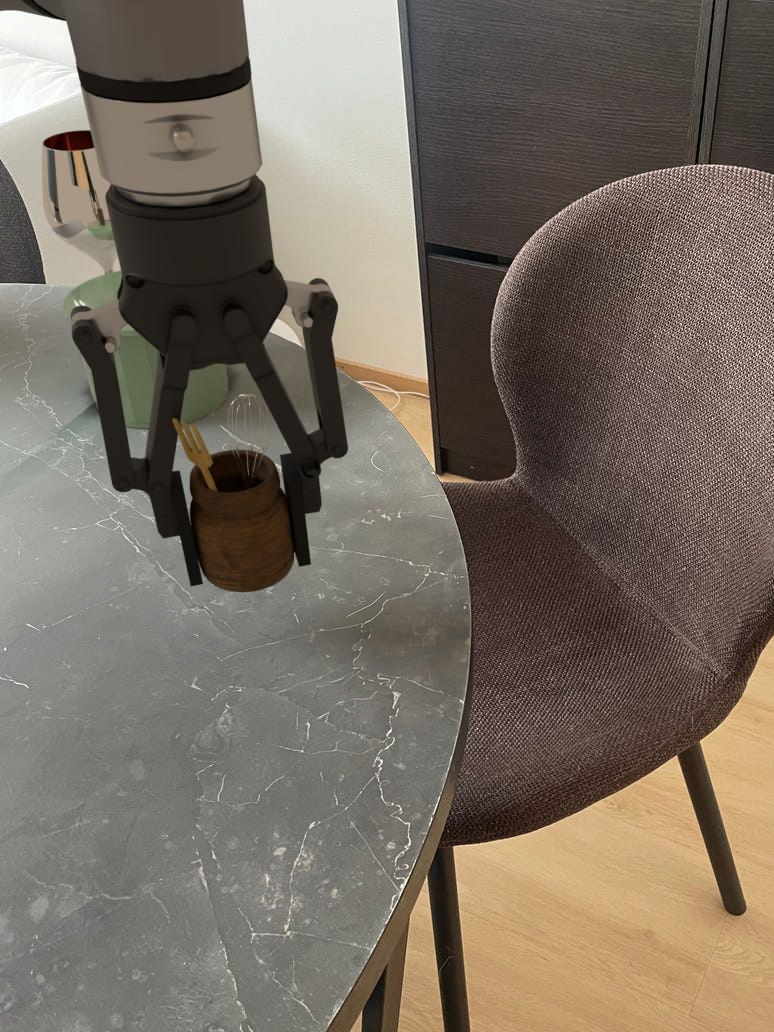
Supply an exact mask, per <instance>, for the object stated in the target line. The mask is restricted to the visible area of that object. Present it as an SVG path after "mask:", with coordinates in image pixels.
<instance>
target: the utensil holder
mask: <svg viewBox="0 0 774 1032" xmlns="http://www.w3.org/2000/svg"><path fill="white" fill-rule="evenodd" d="M241 398H242V399H241ZM250 398H251V399H253V400H254V401H256V403H257V404H258V408H259V409H258V410H259V411H262V416H263V427H264V429H263V430H264V433H266V417H265V411H264V409H263V408H262V406H261V403H260V401H261V402H262V403H263V405H264V407H265V409H266V414H267V415H266V416H267V417H269V409H268V406H267V404H266V402H265V401H264V400H262V399H261V398H260V397H258V396H256V394H252V393H250V394H248V393H246V394H243V395H242V394H239V395H237V396H236V397H235V398H234V400H233V401H232V402H231V404H230V405H229V408H228V411H227V412H228V413H227V438H228V442H229V445H230V449H228V450H222V451H217V452H215V453H212V454H210V452H209V451H208V448H207V445H206V444H205V442H204V440H203V437H202V435H201V433H200V431H199V429H198V427H197V425H196V424H195V423H191V424H190V427H189V424H188V423H186V422H185V421H182V422H181V423H182V425H180V424H179V422H178V420H177V419H176V418H173V419H172V421H173V424H174V426H175V428H176V431H177V433H178V438H179V441H180V443H181V446H182V447H183V450H184V452H185V455H186V457H187V459H188V460H189V461H190V462H191V463H193V464H194V466H193V468H192V469H191V471H190V473H189V493H190V496H191V500H190V505H189V518H190V523H191V528H192V532H193V537H194V542H195V547H196V552H197V557H198V561H199V566H200V571H201V573H202V574H203V576H204V577H205V579H206V580H207V581H208V582H209V583H211V585H213V586H215V587H217V588H218V589H221V590H224V591H228V592H233V593H253V592H258V591H262V590H265V589H268V588H270V587H273V586H275V585H277V584H279V582H281V581H282V580H284V579H285V578H286V577H287V576H288V574H289V573H290V572H291V570H292V568H293V566H294V562H295V552H294V540H293V532H292V524H291V516H290V510H289V505H288V501H287V498H286V495H285V491H284V489H282V487H281V478H280V477H281V476H280V473H279V471H278V468H277V466H276V464H275V462H274V461H273V459H272V458H270V457H268V456H267V455H265V452H266V450H267V446H268V443H269V442H268V441H269V434H270V423H269V422H270V421H269V419H267V438H266V437H264V439H263V447H262V452H259V447H260V441H261V434H259V435H258V436H259V437H258V444H257V448H256V451H255V450H253V422H252V417H250V439H251V440H250V449H248V442H247V441H248V440H247V439H245V449H239V448H238V434H237V432H238V431H237V429H238V428H237V424H238V423H237V420H238V413H239V412H238V411H239V409H240V406H241V403H242V402H243V401H244V429H245V430H244V432H245V433H244V434H245V435H244V436H247V412H246V411H247V409H246V405H247V403H246V402H247V399H248V405H249V413H250V415H252V406H251V400H250ZM238 399H241V400H240V402H239V404H238V407H237V409H236V413H235V436H234V427H233V425H234V424H233V420H234V419H233V417H234V414H233V411H234V404H235V401H237V400H238ZM259 400H260V401H259ZM230 410H231V433H232V438H233V443H234V447H235V449H233V446H232V444H231V440H230V428H229V425H230V422H229V420H230ZM190 428H191V429H190ZM191 430H192V431H191ZM261 430H262V423H261V415H259V433H261Z"/></svg>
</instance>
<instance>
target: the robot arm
mask: <svg viewBox="0 0 774 1032" xmlns="http://www.w3.org/2000/svg"><path fill="white" fill-rule="evenodd" d="M4 11H6V12H7V11H10V12H11V11H16V12H22V13H26V14H30V15H31V14H32V15H36V16H41V17H45V18H50V19H54V20H59V21H62V22H66V26H67V29H68V34H69V37H70V42H71V45H72V50H73V54H74V58H75V66H76V72H77V76H78V80H79V82H80V85H79V86H80V89H81V94H82V98H83V103H84V107H85V112H86V116H87V121H88V126H89V130H91V134H92V139H93V143H94V148H95V152H96V157H97V161H98V165H99V170H100V174H101V176H102V177H103V178H104V179H105V180H107V181H108V182H109V183H110V184H111V185H110V187H109V189H108V191H107V192H106V195H105V200H106V204H107V209H108V213H109V218H110V222H111V227H112V232H113V236H114V241H115V245H116V250H117V254H118V257H117V259H118V263H119V268H120V271H121V273H122V279H121V284H120V287H119V289H118V293H117V300H114V301H112V302H109V303H107V304H105V305H102V306H100V307H97V308H95V309H93V310H92V309H91V308H89V307H87V306H83V305H80V306H76V307H75V308H73V310H72V311H71V316H70V318H71V323H70V328H71V338H72V341H73V343H74V345H75V346H76V348H77V350H78V351H79V353H80V355H81V354H82V356H83V358H84V359H85V361H86V362H87V364H88V366H89V367H90V369H91V372H92V377H93V383H94V388H95V394H96V399H97V405H98V410H99V412H98V415H99V420H100V426H101V431H102V437H103V443H104V448H105V454H106V461H107V465H108V470H109V476H110V482H111V486H112V488H113V489H114V490H115V491H116V492H119V493H128V492H130V491H132V490H137V491H142V492H144V493H145V494H147V496H148V497H149V499H150V503H151V507H152V512H153V516H154V521H155V526H156V530H157V533H158V534H159V535H160V536H161V538H163V539H169V538H175V537H179V539H180V543H181V548H182V554H183V557H184V562H185V567H186V571H187V576H188V580H189V585H190V587H195V586H201V585H204V582H203V576H202V570H201V567H200V564H199V561H198V557H197V552H196V547H195V542H194V537H193V532H192V528H191V521H190V512H189V509H188V503H187V498H186V495H185V489H184V484H183V480H182V475H181V470H180V469H178V470H174V464H175V458H176V451H177V445H178V438H179V436H178V433H177V431H176V428H175V426H174V424H173V421H172V419H173V418H176V419H177V420H178V422H179V424H180V419H181V413H182V406H183V400H184V393H185V390H186V389H187V385H188V379H189V372H190V370H197V369H203V368H205V367H208V366H210V365H213V364H216V363H218V364H225V365H228V366H234V365H242V364H244V365H245V367H246V369H247V370H248V372H249V374H250V376H251V378H252V380H253V381H254V383H255V384H256V387H257V388H258V390H259V392H260V394H261V397H262V398H263V401H264V403H265V405H266V407H267V409H268V411H269V413H270V414H271V416H272V418H273V420H274V422H275V424H276V426H277V428H278V430H279V431H280V434H281V436H282V438H283V439H284V441H285V443H286V445H287V447H288V449H289V451H290V452H289V453H283V454H282V453H281V454H279V459H280V466H281V467H280V468H281V474H282V481H283V491H284V493H285V495H286V498H287V501H288V505H289V510H290V516H291V524H292V532H293V540H294V556H295V558H296V561H297V565H298V567H300V568H301V567H305V566H311V565H312V560H311V559H312V558H311V553H310V545H309V544H310V542H309V535H308V527H307V526H308V525H307V518H306V515H307V514H314V513H319V512H320V511H321V509H322V506H323V502H322V500H323V499H322V491H321V483H320V475H321V473H322V467H321V465H322V464H323V463H324V462H325V461H327V460H329V459H330V458H333V459H341V458H343V457H345V456H346V455H347V453H348V452H349V445H348V437H347V431H346V424H345V417H344V411H343V404H342V396H341V391H340V383H339V377H338V372H337V365H336V358H335V350H334V344H333V335H334V330H335V326H336V322H337V316H338V312H339V303H338V301H337V299H336V297H335V295H334V293H333V291H332V289H331V287H330V285H329V283H328V282H327V281H326V279H324V278H322V277H315V278H313V279H311V280H310V281H309V282H308V283H304V282H299V281H298V282H297V281H293V280H286V279H284V276H283V274H282V272H281V271H280V270H279V268H278V267H277V265H276V261H275V255H274V249H273V247H274V246H273V240H272V232H271V223H270V214H269V213H270V212H269V206H268V197H267V196H268V195H267V190H266V189H267V188H266V185H265V183H264V181H263V180H262V179H261V178H260V177H259V176H258V175H257V173H258V172H259V171H260V169H261V167H262V166H263V158H262V150H261V149H262V148H261V143H260V134H259V133H260V132H259V125H258V119H257V111H256V102H255V96H254V95H255V94H254V87H253V86H254V85H253V80H252V65H251V58H250V52H249V51H250V49H249V42H248V41H249V40H248V33H247V32H248V31H247V22H246V15H245V6H244V0H0V12H4ZM285 306H287V307H289V308H291V314H292V317H293V319H294V321H295V323H296V325H298V326H299V327H300V328H301V329H302V336H303V343H304V347H305V355H306V360H307V365H308V372H309V378H310V384H311V389H312V395H313V401H314V407H315V413H316V418H317V424H318V425H317V426H318V429H316V430H314V431H312V432H310V433H308V432H307V430H306V428H305V426H304V424H303V421H302V420H301V418H300V415H299V413H298V411H297V410H296V407H295V404H294V403H293V401H292V399H291V397H290V394H289V393H288V391H287V389H286V386H285V384H284V382H283V381H282V379H281V376H280V375H279V373H278V370H277V369H276V366H275V365H274V362H273V360H272V358H271V356H270V354H269V351H268V349H267V347H266V345H265V343H264V341H265V339H266V337H267V336H268V334H269V333H270V332H271V329H272V328H273V326H274V324H275V323H276V321H277V319H278V317H279V315H280V314H281V312H282V311H283V309H284V307H285ZM127 324H128V325H130V326H131V327H132V328H133V329H134V330H135V331H136V332H137V333H139V334H140V335H141V336H142V337H143V338H144V339H145V340H146V341H148V342H149V343H150V344H151V345H152V346H153V347H154V348H155V349H156V350H158V354H157V372H156V379H155V386H154V394H153V401H152V409H151V416H150V423H149V429H148V431H147V439H146V447H145V454H144V457H142V458H139V457H133V456H131V455H132V454H131V448H130V442H129V437H128V431H127V427H126V424H125V418H124V412H123V406H122V400H121V394H120V388H119V382H118V375H117V369H116V363H115V357H114V353H113V352H115V351H117V350H118V349H119V348H120V347H121V344H122V340H121V334H120V331H121V329H122V328H123V327H124V326H125V325H127ZM82 356H81V357H82ZM98 410H97V411H98Z"/></svg>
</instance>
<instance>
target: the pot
mask: <svg viewBox="0 0 774 1032" xmlns="http://www.w3.org/2000/svg"><path fill="white" fill-rule="evenodd" d="M121 340H122V344H121V347H120V348H119V349H118V350H117V351H115V352H113V353H114V357H115V363H116V369H117V375H118V382H119V388H120V394H121V400H122V406H123V412H124V418H125V424H126V428H133V429H148V430H149V423H150V416H151V409H152V401H153V394H154V386H155V379H156V372H157V354H158V350H156V349H155V348H154V347H153V346H152V345H151V344H150V343H149V342H148V341H146V340H145V339H144V338H143V337H142V336H121ZM80 356H81V359H82V363H83V367H84V371H85V375H86V378H87V383H88V386H89V390H90V394H91V396H92V398H93V401H94V405H95V408H96V410H97V412H98V413H99V410H98V405H97V399H96V394H95V388H94V383H93V377H92V372H91V369H90V367H89V366H88V364H87V362H86V361H85V359H84V358H83V356H82V354H81V353H80ZM226 365H227V364H218V363H216V364H213V365H210V366H208V367H205V368H203V369H197V370H190V372H189V379H188V385H187V389H186V390H185V393H184V400H183V406H182V413H181V419H180V426H182V423H181V422H182V421H185V422H186V423H187V424H188V423H193V422H195V421H198V420H200V419H203V418H205V417H206V416H208V415H210V414H212V413H214V411H216V410H217V409H218V408H219V407H221V406H222V405H223V404H224V402H226V401H225V400H226V399H227V397H228V394H229V377H228V372H227V366H226Z"/></svg>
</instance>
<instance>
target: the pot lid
mask: <svg viewBox="0 0 774 1032" xmlns="http://www.w3.org/2000/svg"><path fill="white" fill-rule="evenodd" d="M114 242H115V241H114ZM115 246H116V245H115ZM116 251H117V250H116ZM117 255H118V254H117ZM121 279H122V273H121V270H117V271H114V272H112V273H108V274H105V273H104V274H102V275H99V276H96V277H93V278H91V279H89V280H87V281H84V282H82V283H81V284H79V285H77V286H75V287H74V288H73V289H71V290H70V292H68V293H67V295H66V296H65V298H64V300H63V302H62V310H63V315H64V317H65V319H66V320H67V321H68V322H69V323H70V324H71V318H70V316H71V311H72V310H73V308H75V307H76V306H80V305H83V306H87V307H89V308H91V309H92V310H93V309H95V308H97V307H100V306H102V305H105V304H107V303H109V302H112V301H114V300H117V293H118V289H119V287H120V284H121ZM120 334H121V336H141V335H140V334H139V333H137V332H136V331H135V330H134V329H133V328H132V327H131V326H130V325H128V324H127V325H125V326H124V327H123V328H122V329H121V331H120Z"/></svg>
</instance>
